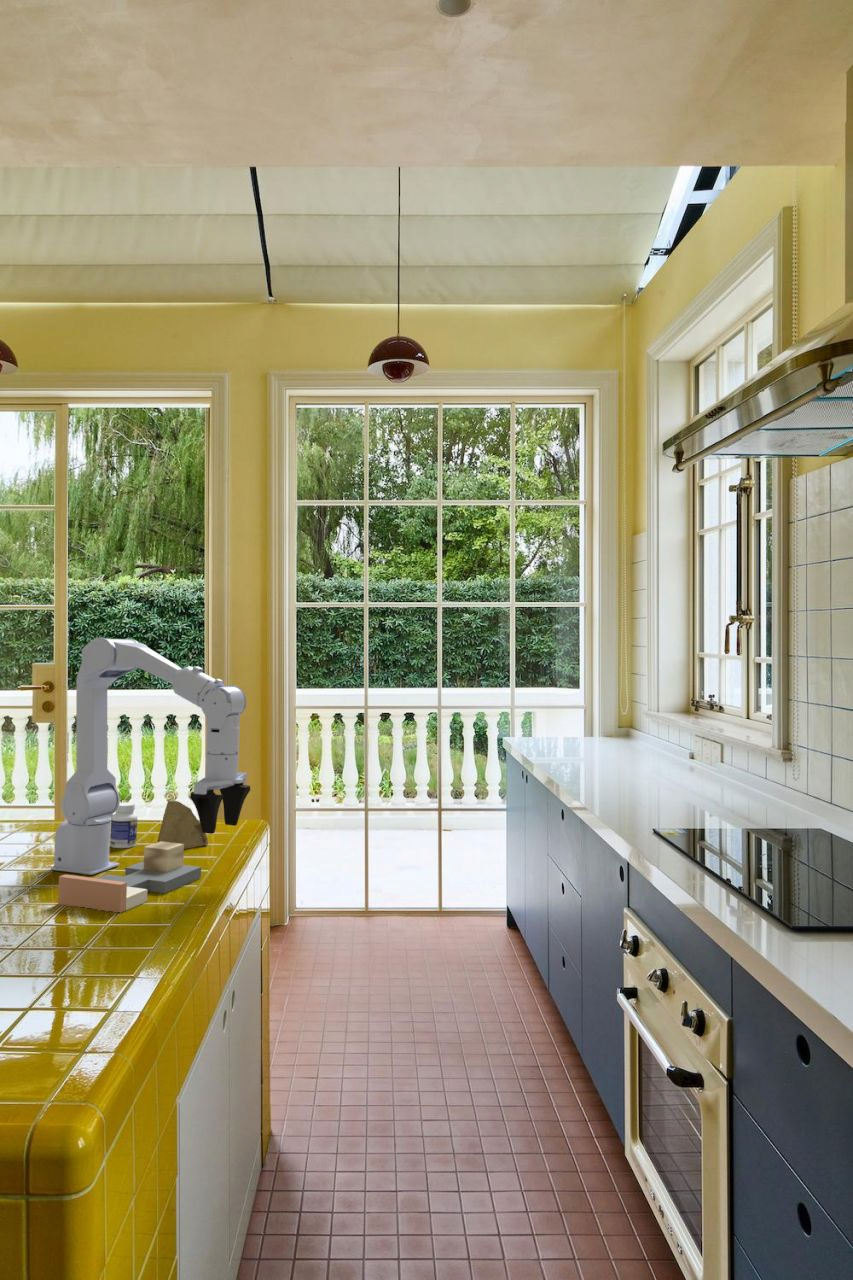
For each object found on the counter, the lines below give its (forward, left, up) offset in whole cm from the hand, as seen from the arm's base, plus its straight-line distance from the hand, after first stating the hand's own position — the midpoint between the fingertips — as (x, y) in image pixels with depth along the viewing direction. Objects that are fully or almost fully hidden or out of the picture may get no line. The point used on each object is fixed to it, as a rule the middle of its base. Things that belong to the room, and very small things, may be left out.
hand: (219, 828), depth 151 cm
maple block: (-11, 0, -8) cm, 14 cm away
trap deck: (-11, -9, -10) cm, 18 cm away
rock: (-22, +22, -10) cm, 33 cm away
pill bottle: (-34, +18, -10) cm, 40 cm away
